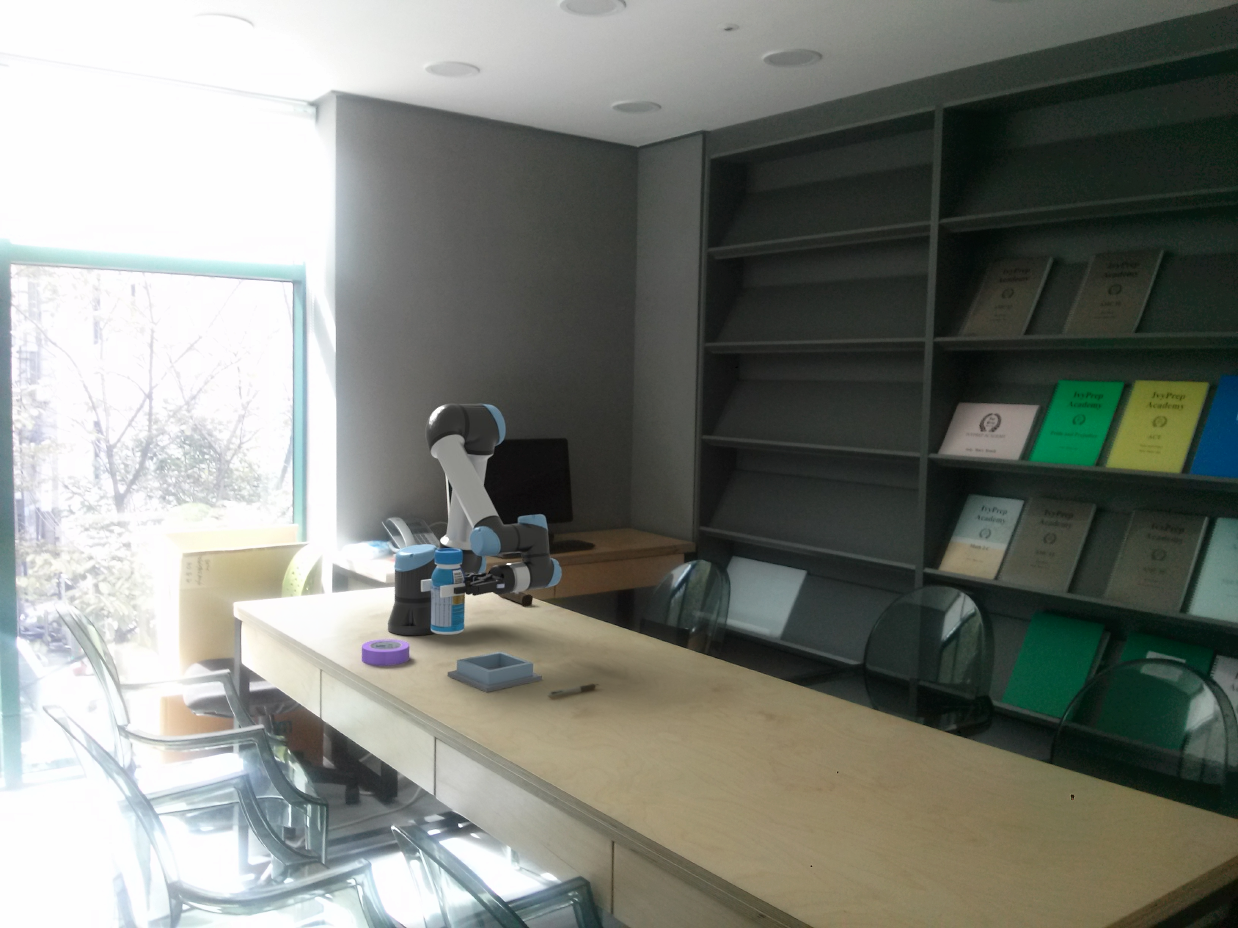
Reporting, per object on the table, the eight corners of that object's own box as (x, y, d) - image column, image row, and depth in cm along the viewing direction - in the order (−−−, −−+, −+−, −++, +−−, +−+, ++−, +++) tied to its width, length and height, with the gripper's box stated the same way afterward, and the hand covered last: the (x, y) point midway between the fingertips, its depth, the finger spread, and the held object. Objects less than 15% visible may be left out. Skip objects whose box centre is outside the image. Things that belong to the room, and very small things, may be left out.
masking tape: (416, 662, 253) (416, 647, 253) (370, 668, 247) (370, 653, 247) (399, 651, 263) (399, 637, 263) (355, 656, 257) (355, 642, 257)
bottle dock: (447, 675, 242) (447, 659, 241) (502, 664, 253) (502, 649, 252) (486, 692, 230) (486, 674, 230) (542, 679, 241) (542, 663, 241)
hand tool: (533, 606, 321) (533, 591, 321) (522, 607, 319) (522, 592, 319) (505, 595, 337) (506, 581, 337) (494, 596, 335) (495, 582, 334)
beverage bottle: (430, 635, 244) (431, 553, 242) (429, 627, 252) (430, 547, 250) (465, 634, 245) (467, 553, 244) (464, 626, 253) (465, 547, 252)
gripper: (532, 599, 253) (454, 612, 237) (484, 586, 268) (408, 596, 252) (532, 570, 252) (455, 580, 236) (484, 558, 267) (408, 566, 252)
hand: (431, 588), depth 244 cm, fingers closed on beverage bottle, 8 cm apart
